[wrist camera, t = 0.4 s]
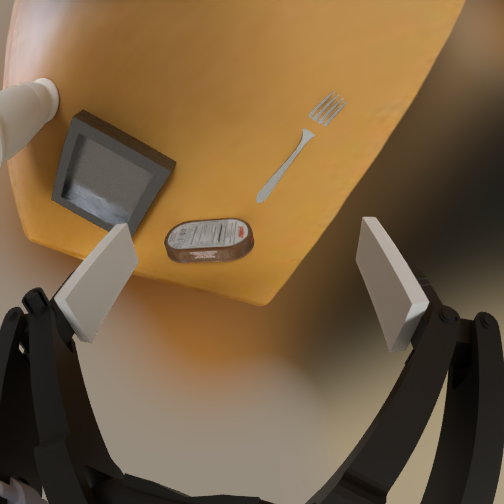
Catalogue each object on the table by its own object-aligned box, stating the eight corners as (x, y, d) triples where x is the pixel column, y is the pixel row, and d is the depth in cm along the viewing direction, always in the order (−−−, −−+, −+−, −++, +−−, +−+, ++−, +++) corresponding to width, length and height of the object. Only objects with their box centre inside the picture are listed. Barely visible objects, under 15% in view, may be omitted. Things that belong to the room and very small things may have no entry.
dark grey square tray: (83, 109, 30) (72, 116, 28) (176, 162, 38) (171, 171, 36) (59, 189, 41) (51, 199, 39) (133, 231, 49) (129, 242, 47)
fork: (241, 208, 45) (241, 214, 44) (328, 86, 30) (331, 89, 29) (258, 215, 46) (258, 222, 45) (346, 99, 31) (350, 103, 30)
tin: (173, 232, 49) (163, 267, 43) (168, 219, 47) (156, 254, 41) (254, 227, 48) (254, 263, 42) (252, 213, 46) (252, 248, 40)
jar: (42, 138, 33) (-12, 188, 22) (15, 100, 26) (-44, 141, 16) (75, 102, 29) (11, 146, 19) (45, 59, 23) (-25, 90, 12)
